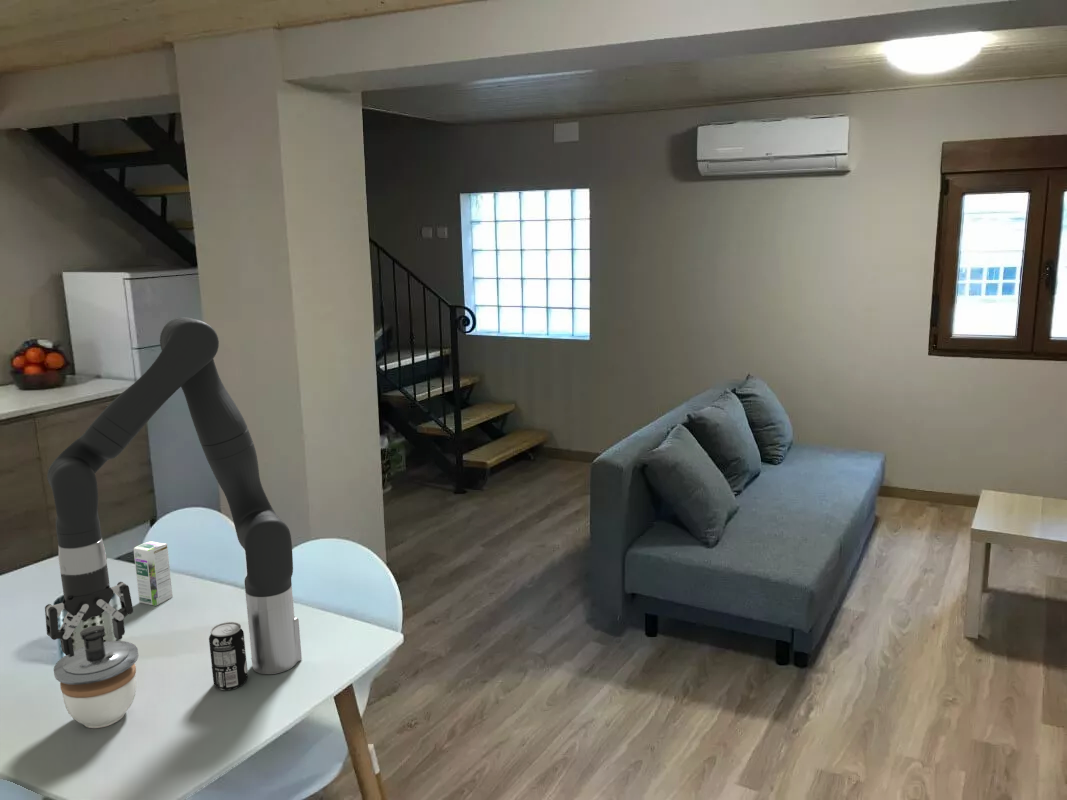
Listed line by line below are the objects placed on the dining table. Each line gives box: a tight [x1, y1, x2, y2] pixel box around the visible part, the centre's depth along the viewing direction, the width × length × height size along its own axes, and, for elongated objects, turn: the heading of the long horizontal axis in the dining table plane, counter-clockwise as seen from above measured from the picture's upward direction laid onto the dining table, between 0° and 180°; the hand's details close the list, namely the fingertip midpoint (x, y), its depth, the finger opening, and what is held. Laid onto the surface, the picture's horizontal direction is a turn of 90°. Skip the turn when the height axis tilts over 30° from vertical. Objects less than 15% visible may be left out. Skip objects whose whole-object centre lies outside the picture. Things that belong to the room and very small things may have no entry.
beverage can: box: [208, 621, 249, 691], centre depth 167 cm, size 7×7×12 cm
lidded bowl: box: [59, 663, 137, 729], centre depth 156 cm, size 13×13×11 cm
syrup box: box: [133, 540, 173, 607], centre depth 206 cm, size 6×6×14 cm
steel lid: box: [53, 625, 139, 685], centre depth 154 cm, size 14×14×7 cm
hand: (94, 646), depth 154 cm, fingers open, 8 cm apart
